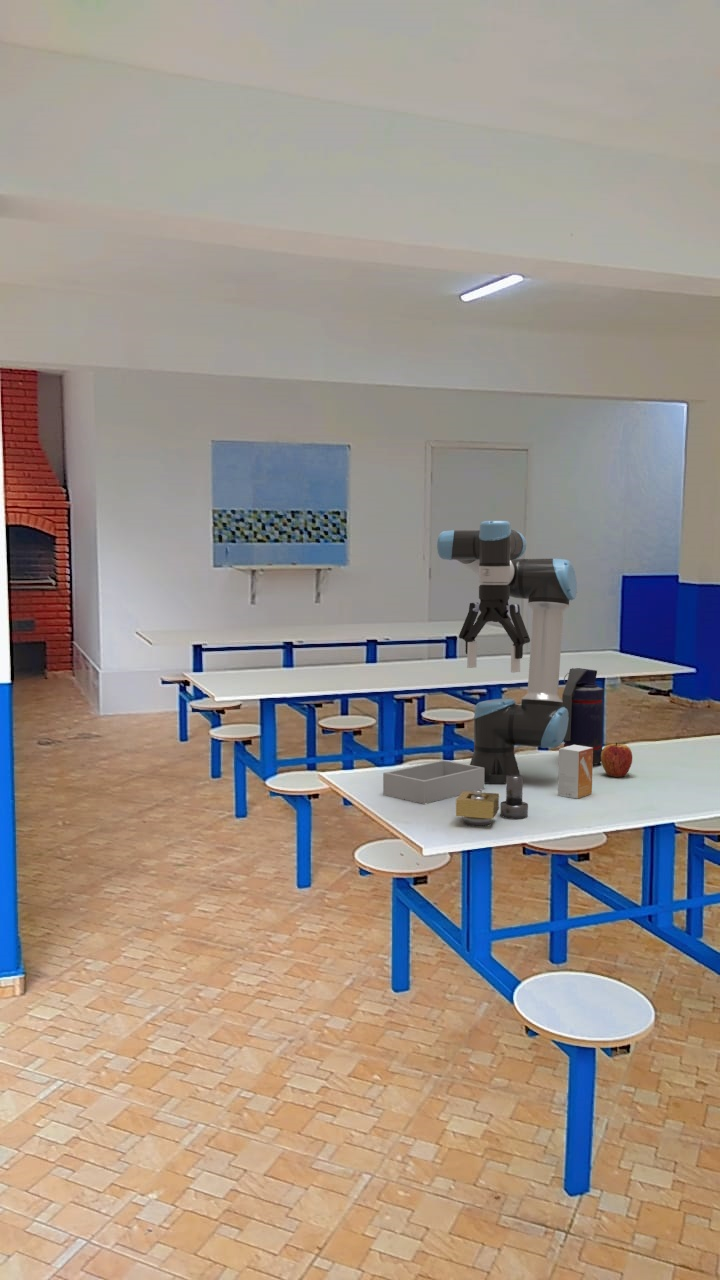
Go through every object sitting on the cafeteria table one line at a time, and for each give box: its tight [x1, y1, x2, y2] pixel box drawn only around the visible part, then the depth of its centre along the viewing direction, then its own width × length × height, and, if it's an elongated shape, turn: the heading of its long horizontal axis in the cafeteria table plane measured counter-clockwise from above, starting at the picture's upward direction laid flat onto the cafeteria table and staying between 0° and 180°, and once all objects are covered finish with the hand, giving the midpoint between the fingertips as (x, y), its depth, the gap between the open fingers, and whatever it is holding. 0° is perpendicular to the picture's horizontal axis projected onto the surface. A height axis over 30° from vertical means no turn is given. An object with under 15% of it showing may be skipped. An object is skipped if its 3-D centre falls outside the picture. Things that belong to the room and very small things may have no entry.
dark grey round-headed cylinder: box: [499, 774, 529, 820], centre depth 252 cm, size 7×7×10 cm
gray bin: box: [382, 759, 485, 805], centre depth 277 cm, size 15×25×6 cm, turn 134°
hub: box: [462, 790, 492, 827], centre depth 245 cm, size 7×7×8 cm
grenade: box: [561, 667, 605, 766], centre depth 314 cm, size 14×12×30 cm
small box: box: [557, 745, 594, 799], centre depth 274 cm, size 8×6×13 cm
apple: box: [601, 742, 633, 778], centre depth 298 cm, size 9×9×10 cm
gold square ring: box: [455, 791, 500, 820], centre depth 245 cm, size 9×9×4 cm
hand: (493, 669), depth 249 cm, fingers open, 13 cm apart
